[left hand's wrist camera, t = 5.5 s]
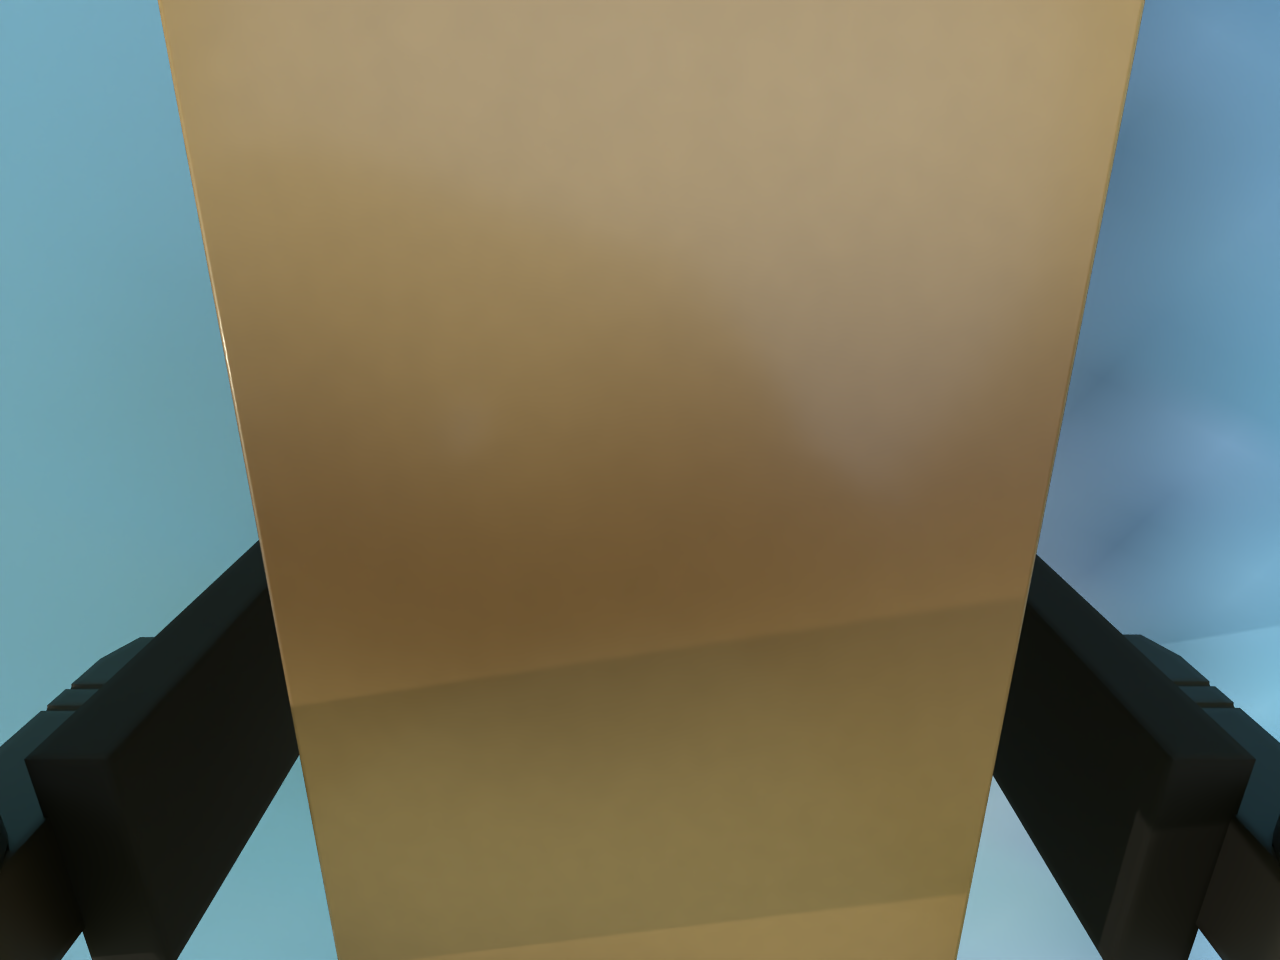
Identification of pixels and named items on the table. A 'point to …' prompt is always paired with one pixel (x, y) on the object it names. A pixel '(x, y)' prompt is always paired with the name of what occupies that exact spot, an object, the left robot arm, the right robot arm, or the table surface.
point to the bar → (649, 443)
